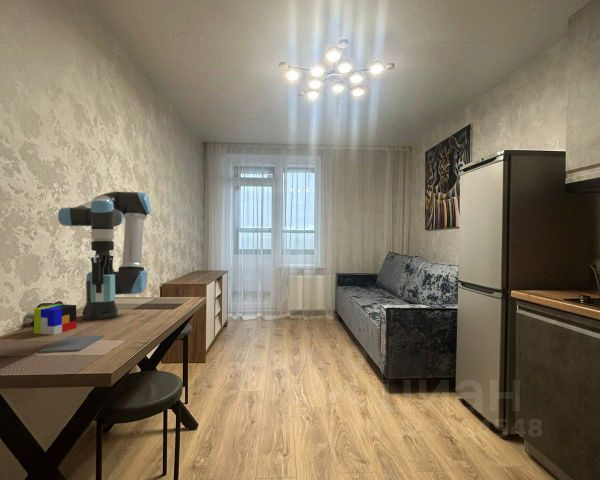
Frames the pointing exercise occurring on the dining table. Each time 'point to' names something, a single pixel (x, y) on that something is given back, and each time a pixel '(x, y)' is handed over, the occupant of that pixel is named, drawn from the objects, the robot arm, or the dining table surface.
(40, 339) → the dining table surface
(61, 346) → the rubber mat
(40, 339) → the dining table surface
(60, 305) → the puzzle toy
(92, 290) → the teal block
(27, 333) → the dining table surface
